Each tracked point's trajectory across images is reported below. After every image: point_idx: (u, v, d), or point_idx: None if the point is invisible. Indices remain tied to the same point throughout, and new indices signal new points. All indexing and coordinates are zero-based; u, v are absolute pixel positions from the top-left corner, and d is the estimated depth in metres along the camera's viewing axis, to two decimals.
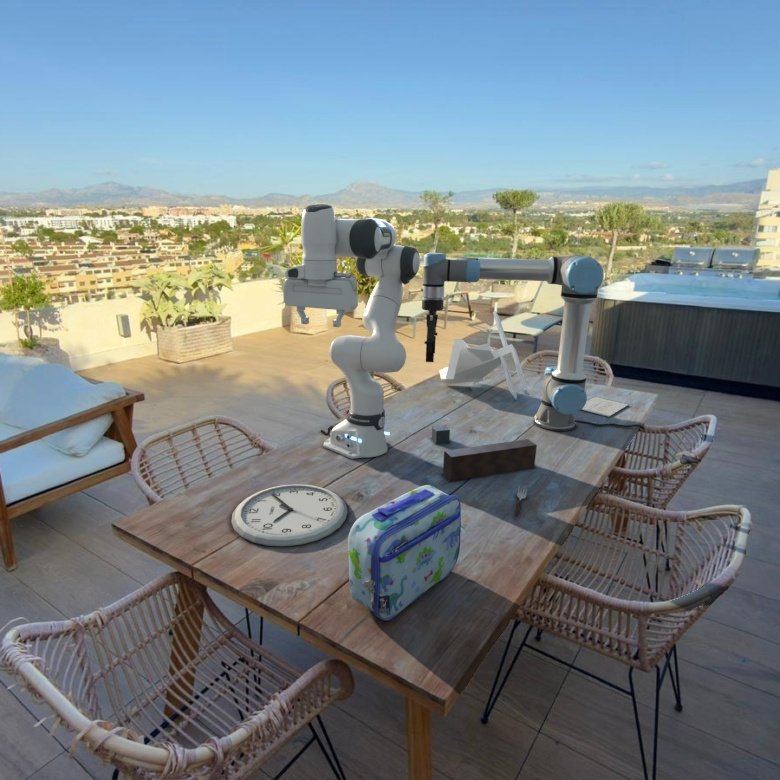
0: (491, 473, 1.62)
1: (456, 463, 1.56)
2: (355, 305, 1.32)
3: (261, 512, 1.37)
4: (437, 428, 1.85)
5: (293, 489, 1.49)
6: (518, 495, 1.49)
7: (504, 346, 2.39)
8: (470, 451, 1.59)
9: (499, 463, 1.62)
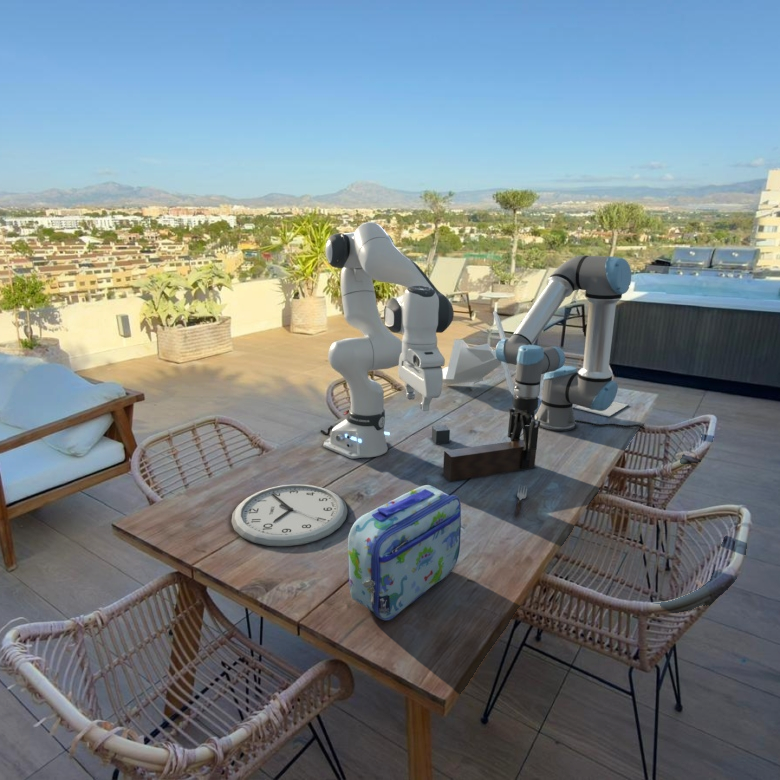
0: (491, 473, 1.62)
1: (456, 463, 1.56)
2: None
3: (261, 512, 1.37)
4: (437, 428, 1.85)
5: (293, 489, 1.49)
6: (518, 495, 1.49)
7: None
8: (470, 451, 1.59)
9: (499, 463, 1.62)
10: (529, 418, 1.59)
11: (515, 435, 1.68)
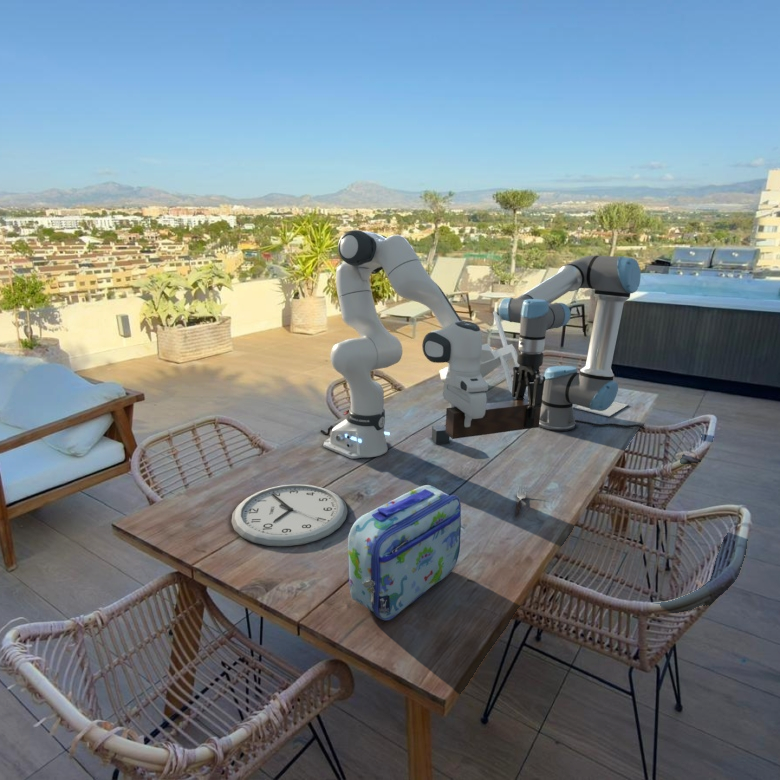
0: (495, 431, 1.58)
1: (458, 419, 1.52)
2: None
3: (261, 512, 1.37)
4: (437, 428, 1.85)
5: (293, 489, 1.49)
6: (518, 495, 1.49)
7: (504, 346, 2.39)
8: None
9: (503, 421, 1.58)
10: (534, 374, 1.55)
11: (519, 394, 1.63)
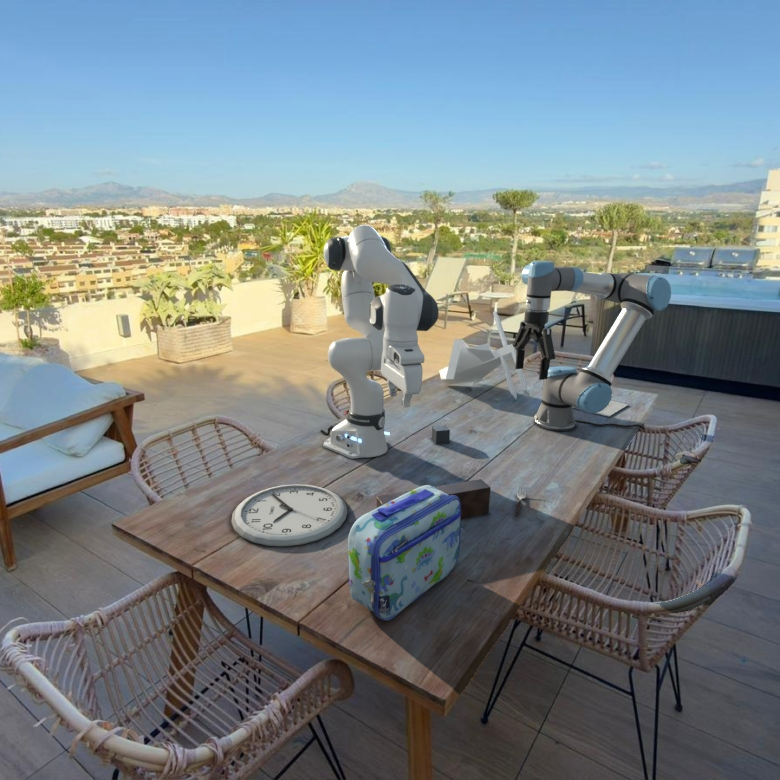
0: None
1: None
2: None
3: (261, 512, 1.37)
4: (437, 428, 1.85)
5: (293, 489, 1.49)
6: (518, 495, 1.49)
7: (504, 346, 2.39)
8: None
9: None
10: (540, 329, 1.67)
11: (521, 345, 1.78)
